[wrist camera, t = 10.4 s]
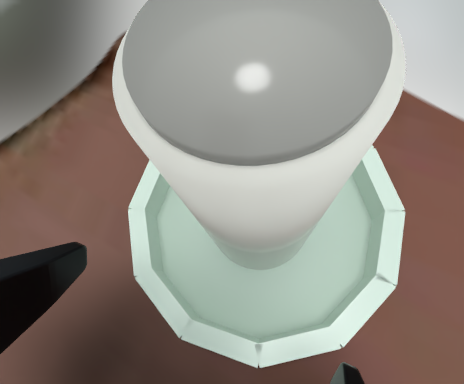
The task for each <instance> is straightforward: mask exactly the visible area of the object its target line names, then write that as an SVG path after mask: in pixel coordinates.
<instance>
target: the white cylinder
mask: <svg viewBox="0 0 464 384" xmlns="http://www.w3.org/2000/svg"><path fill="white" fill-rule="evenodd" d="M405 74H406V55H405V50H404V45H403V41H402V38H401V35H400V33H399V30H398V28H397V26H396V24H395V22H394V21H393V19H392V17H391V16H390V14H389V13H388V12H387V10H386V9H385V8H384V7H383V6H382V4H381V3H380V2H379V1H378V0H148V1H147V2H146V4H145V5H144V6H143V7H142V9H141V10H140V11H139V13H138V14H137V16H136V18H135V19H134V21H133V23H132V24H131V26H130V28H129V29H128V31H127V33H126V34H125V36H124V38H123V39H122V42H121V44H120V47H119V49H118V51H117V55H116V59H115V63H114V68H113V78H112V83H113V95H114V99H115V104H116V108H117V111H118V113H119V115H120V118H121V120H122V122H123V124H124V125H125V127H126V129H127V130H128V132H129V133H130V135H131V136H132V138H133V139H134V140H135V141H136V143H137V144H138V145H139V147H140V148H141V149H142V150H143V152H144V153H145V154H146V156H147V157H148V158H149V159H150V161H151V162H152V163H153V164H154V166H155V167H156V168H157V170H158V171H159V172H160V173H161V175H162V176H163V177H164V179H165V180H166V181H167V182H168V184H169V185H170V186H171V187H172V189H173V190H174V191H175V193H176V194H177V195H178V196H179V198H180V199H181V200H182V202H183V203H184V204H185V205H186V207H187V208H188V209H189V210H190V212H191V213H192V214H193V216H194V217H195V218H196V219H197V221H198V222H199V223H200V225H201V226H202V227H203V228H204V230H205V231H206V232H207V234H208V235H209V236H210V237H211V239H212V240H213V241H214V242H215V244H216V245H217V246H218V248H219V249H220V250H221V251H222V253H223V254H224V255H225V256H226V257H227V258H229V259H230V260H231V261H233V262H234V263H236V264H238V265H240V266H242V267H245V268H248V269H254V270H266V269H272V268H275V267H278V266H281V265H282V264H284V263H286V262H288V261H289V260H290V259H292V258H293V257H294V256H295V255H296V254H297V252H298V251H299V250H300V249H301V247H302V246H303V244H304V243H305V241H306V240H307V238H308V237H309V235H310V234H311V233H312V231H313V230H314V228H315V227H316V225H317V224H318V222H319V221H320V219H321V218H322V217H323V215H324V214H325V212H326V211H327V209H328V208H329V206H330V205H331V203H332V202H333V201H334V199H335V198H336V196H337V195H338V193H339V192H340V190H341V189H342V187H343V186H344V185H345V183H346V182H347V180H348V179H349V177H350V176H351V174H352V173H353V171H354V170H355V169H356V167H357V166H358V164H359V163H360V161H361V160H362V158H363V157H364V155H365V154H366V153H367V151H368V150H369V148H370V147H371V145H372V144H373V142H374V141H375V139H376V138H377V137H378V135H379V134H380V132H381V131H382V129H383V128H384V126H385V125H386V123H387V122H388V121H389V119H390V117H391V115H392V114H393V112H394V110H395V108H396V106H397V104H398V102H399V99H400V96H401V93H402V91H403V88H404V82H405Z"/></svg>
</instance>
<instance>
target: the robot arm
mask: <svg viewBox="0 0 464 384" xmlns="http://www.w3.org/2000/svg"><path fill="white" fill-rule="evenodd" d="M86 265H87V248H86V246H85V245H82V244H80V243H78V242H72V243H67V244H63V245H59V246H55V247H50V248H46V249H42V250H38V251H33V252H29V253H25V254H21V255H17V256H12V257H8V258H4V259H0V354H1V353H2V352H3V351H4V350H5V349H6V348H7V347H9V346H10V345H11V344H12V343H13V342H14V341H15V340H16V339H17V338H18V337H19V336H20V335H21V334H22V333H24V332H25V331H26V330H27V329H28V328H29V327H30V326H31V325H32V324H33V323H34V322H35V321H36V320H37V319H38V318H40V317H41V316H42V315H43V314H44V313H45V312H46V311H47V310H48V309H49V308H50V307H51V306H52V305H53V304H54V303H55V302H56V301H57V300H58V299H59V298H60V297H61V295H62V294H63V293H64V292H65V291H66V290H67V289H68V288H69V286H70V285H71V284H72V283H73V282H74V281H75V280H76V279H77V278H78V276H79V275H80V274H81V273H82V272H83V271H84V269H85V268H86ZM330 384H365V383H364V381H363V379H362V377H361V375H360V373H359V371H358V369H357V368H356V367H354V366H351V365H349V364H347V363H345V362H343V363H341V364H340V366H339V367H338V369H337V371H336V373H335V374H334V376H333V378H332V380H331V383H330Z"/></svg>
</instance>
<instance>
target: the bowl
mask: <svg viewBox="0 0 464 384" xmlns="http://www.w3.org/2000/svg"><path fill="white" fill-rule="evenodd" d="M373 148H374V146H372V145H371V147H370V148H369V150H368V151H367V153H366V154H365V155H364V157H363V158H362V160H361V161H360V163H359V164H358V166H357V167H356V169H355V170H354V171H353V173H352V174H351V176H350V177H349V179H348V180H347V182H346V183H345V185H344V186H343V187H342V189H341V190H340V192H339V193H338V195H337V196H336V198H335V199H334V201H333V202H332V203H331V205H330V206H329V208H328V209H327V211H326V212H325V214H324V215H323V217H322V218H321V219H320V221H319V222H318V224H317V225H316V227H315V228H314V230H313V231H312V233H311V234H310V235H309V237H308V238H307V240H306V241H305V243H304V244H303V246H302V247H301V249H300V250H299V251H298V252H297V254H296V255H295V256H294V257H293V258H292V259H290V260H289V261H288V262H286V263H284V264H282V265H281V266H278V267H275V268H272V269H266V270H254V269H248V268H245V267H242V266H240V265H238V264H236V263H234V262H233V261H231V260H230V259H229V258H227V257H226V256H225V255H224V254H223V253H222V251H221V250H220V249H219V248H218V246H217V245H216V244H215V242H214V241H213V240H212V239H211V237H210V236H209V235H208V234H207V232H206V231H205V230H204V228H203V227H202V226H201V225H200V223H199V222H198V221H197V219H196V218H195V217H194V216H193V214H192V213H191V212H190V210H189V209H188V208H187V207H186V205H185V204H184V203H183V202H182V200H181V199H180V198H179V196H178V195H177V194H176V193H175V191H174V190H173V189H172V187H171V186H170V185H169V184H168V182H167V181H166V180H165V179H164V177H163V176H162V175H161V173H160V172H159V171H158V170H157V168H156V167H155V166H154V164H153V163H152V162H151V161H150V160H149V163H148V165H147V167H146V169H145V172H144V174H143V176H142V178H141V181H140V183H139V185H138V187H137V189H136V192H135V194H134V196H133V198H132V201H131V203H130V205H129V207H128V208H129V210H128V215H129V226H130V237H131V248H132V259H133V270H134V276H135V277H136V278H135V279H136V281H137V282H138V283H139V285H140V286H141V287H142V289H143V290H144V291H145V293H146V294H147V295H148V297H149V298H150V299H151V301H152V302H153V303H154V305H155V306H156V308H157V309H158V310H159V312H160V313H161V314H162V316H163V317H164V318H165V320H166V321H167V322H168V324H169V325H170V326H171V328H172V329H173V330H174V332H175V333H176V334H177V336H178V337H179V338H180V337H182V338H181V340H184V341H187V342H189V343H192V344H195V345H197V346H200V347H203V348H205V349H208V350H211V351H213V352H216V353H219V354H221V355H224V356H227V357H229V358H232V359H235V360H237V361H240V362H243V363H245V364H248V365H251V366H253V367H256V368H258V364H259V367H260V368H263V367H267V366H271V365H275V364H279V363H284V362H288V361H292V360H296V359H300V358H304V357H309V356H313V355H317V354H321V353H325V352H329V351H334V350H338V349H341V346H342V347H344V346H345V345H346V344H347V343H348V342H349V340H350V339H351V338H352V337H353V336H354V335H355V334H356V332H357V331H358V330H359V329H360V328H361V327H362V326H363V324H364V323H365V322H366V321H367V320H368V319H369V318H370V316H371V315H372V314H373V313H374V312H375V311H376V310H377V308H378V307H379V306H380V305H381V304H382V303H383V302H384V301H385V299H386V298H387V297H388V296H389V295H390V294H391V293H392V291H393V290H394V289H395V288H396V287H395V285H397V281H398V272H399V263H400V254H401V245H402V237H403V228H404V219H405V212H403V211H404V210H405V209H404V207H403V205H402V203H401V201H400V199H399V197H398V194H397V192H396V190H395V188H394V186H393V184H392V182H391V180H390V178H389V176H388V174H387V172H386V169H385V167H384V165H383V163H382V161H381V159H380V157H379V155H378V153H377V151H376V149H373Z"/></svg>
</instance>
